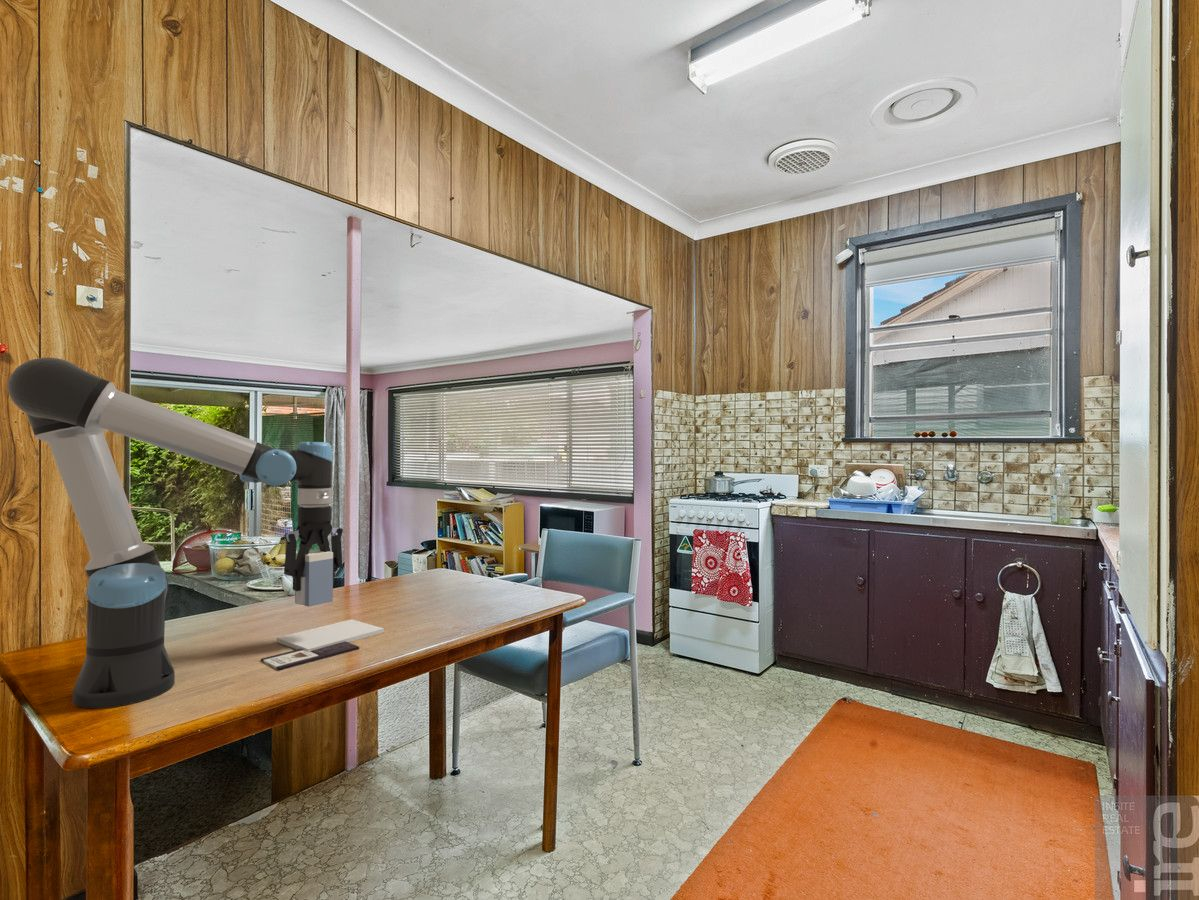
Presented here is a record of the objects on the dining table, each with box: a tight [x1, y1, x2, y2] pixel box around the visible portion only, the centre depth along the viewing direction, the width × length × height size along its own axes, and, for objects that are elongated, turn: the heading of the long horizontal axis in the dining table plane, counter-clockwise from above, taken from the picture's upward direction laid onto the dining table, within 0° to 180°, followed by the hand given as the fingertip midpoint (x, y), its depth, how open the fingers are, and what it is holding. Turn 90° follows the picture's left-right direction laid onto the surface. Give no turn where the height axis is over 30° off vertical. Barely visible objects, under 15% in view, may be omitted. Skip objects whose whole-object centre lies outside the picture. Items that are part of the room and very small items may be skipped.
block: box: [294, 549, 334, 608], centre depth 144 cm, size 6×6×12 cm
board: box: [275, 618, 385, 652], centre depth 148 cm, size 20×14×1 cm
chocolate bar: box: [260, 641, 360, 671], centre depth 135 cm, size 9×1×18 cm
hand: (313, 600), depth 144 cm, fingers closed on block, 6 cm apart
